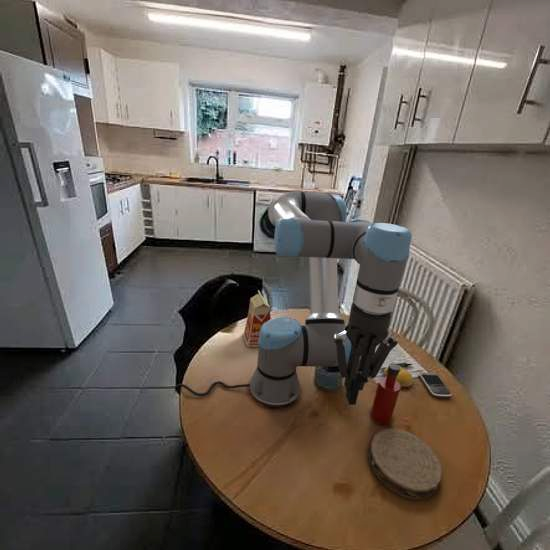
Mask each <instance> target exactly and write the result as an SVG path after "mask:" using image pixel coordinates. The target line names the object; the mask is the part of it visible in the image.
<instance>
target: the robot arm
mask: <svg viewBox="0 0 550 550" xmlns="http://www.w3.org/2000/svg"><path fill="white" fill-rule="evenodd" d="M347 214H348V213H347V205H346V203H345V200H344V198H343V197H341V195H339V194H332V193H330V192H326V193H321V192H308V191H288V192H284V193H282V194H280V195H279V194H278V195H277V196H276V197H275V198H273V199H272V200H271V202H270V203H269V205H268V209H267V216H268V220H269V221H270V223H271V224H272V225H273V226H274V227H275V228H274V237H273V238H274V239H273V240H274V241H273V242H274V243H273V244H274V252H275V253H276V255H278V256H282V257H289V258H308V269H309V270H308V271H309V272H308V274H309V315H308V316H307V317H306V318H305V320H304V323H305V324H304V325H302V324H301V322H300V321H299V320H297V319H296V318H292V317H291V316H277V317H272V318H271V319H270V320H268V321H267V322H266V323H264V324H263V326H262V327H261V329H260V335H259V339H258V344H259V347H258V349H257V362H256V363H257V365H256V368H255V370H254V372H253V374H252V377H251V379H250V381H249V382H250V383H244V384H243V383H242V384H234V385H228V384H226V383H224V382H223V381H219V380H218V381H215V382H213V383H211V384H210V386H209V388H208V389H207V390H206V392H203V393H202V392H201V393H200V392H197V391H194V390H193V389H192V388H190V387H189V386H188V385H186V384H184V383H177V384H176V385H174V388H176V389H177V388H179V387H180V388H181V387H182V388H184V389H186V390H187V391H188V392H190V393H191V394H193V395H194V396H197V397H205V396H207V395H209V394H210V392H211V391H212V389H214V387H215V386H216V385H220V386H223V387H224V388H225V389H237V388H247V387H249V393H250V395H251V397H252V399H253V400H254V401H255V402H256V403H257V404H258V405H261V406H263V407H265V408H268V409H284V408H286V407H290V406H292V405H294V403H295V402H297V400H298V399H299V396H300V390H301V385H300V382H299V381H300V380H299V378H298V377H299V376H298V374H297V367H328V368H333V367H338V371H339V373H340V376H341V378H343V379H344V383H343V385H344V388H345V390H346V391H345V397H346V400H347V403H348V405H351V406H352V405H357V401H358V397H359V392H360V391H363V390H364V387H365V384H367V383H368V382H369V380H368V378H369V379H375V378H376V377H377V375H378V374H379V372H380V371H381V368H382V366H383V365H384V363H385V361H386V360H387V358H388V356H389V354H390V352H391V351H392V350H393V349H394V348H395V347H396V346H397V345H398V341H397V340H396V338H395V337H394V335H393V334H392V333H389V331H388V329H389V327H390V324H391V321H392V316H393V310H394V308H395V304H396V301H397V297H398V293H399V288H400V286H401V282H402V279H403V276H404V272H405V269H406V264H407V261H408V258H409V256H410V249H411V243H412V237H413V235H412V233H411V230H410V229H408V228H407V227H405V226H400V225H398V224H394V223H389V222H374V223H373V222H370V221H369V220H366V219H363V218H352V219H350V220H348V221H347V217H348V216H347ZM338 259H342V260H343V259H344V260H355V262H356V263H357V264H358V265H359V267H358V271H357V272H358V273H357V277H356V282H355V287H354V292H353V297H352V303H351V306H350V312H349V317H348V323H347V325H346V324H345V323H346V322H345V318H344V317H343V316H342V315H341V314H340V305H339V304H340V303H339V280H338V278H339V277H338ZM361 354H362V355H361ZM360 355H361V359H360ZM359 359H360V364H359Z"/></svg>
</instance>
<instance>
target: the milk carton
mask: <svg viewBox="0 0 550 550" xmlns="http://www.w3.org/2000/svg"><path fill="white" fill-rule="evenodd" d="M257 292H258V293H256V294H255V295H254V296H252V297H250V299H249V308H248V313H247V317H246V323H245V327H244V331H243V334H242V336H243V338H244V341H245V343H246V345H247V348H248V347H249V348H250V347H255V348H256V347H258V348H259V344H258V339H259V335H260V329H261V327H262V326H263V324H264V323H266V322H267V321H268V320H270V319H272V316H271V315H272V313H271V306H270V305H269V302H268V301H267V299H266V298H265V297H264V295H263V294H262V293H261V291H260V290H259V289H257Z"/></svg>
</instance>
